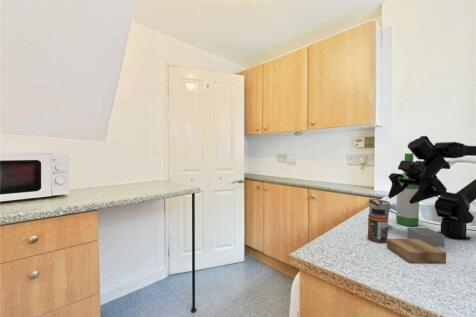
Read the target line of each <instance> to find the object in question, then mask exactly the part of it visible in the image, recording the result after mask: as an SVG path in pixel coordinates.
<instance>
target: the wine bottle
mask: <svg viewBox="0 0 476 317" xmlns="http://www.w3.org/2000/svg"><path fill="white" fill-rule="evenodd" d="M404 161H412V162H414V154H413V153H412V152H410V153H407V152H406V153H405V152H404ZM405 173H406V172H404V171H402V173H401V174H402V175H403V176H404V177H405V178H408V176H406V175H405ZM404 189H405V190H404V191H402V192H401V193H399V194H397V195H396V205H395V206H396V207H395V208H396V209H395V210H396V212H395V215H396V216H395V222H396V223H398V224H399V225H402V226H407V227H416V226H418V225H419V219H420V201H419V202H416V203H414V204H410V203H409V201H410V199H411V198H412V197H413V195H414V194H415V193H416V192H417V191H418V189H419V187H418V186H415V185H409V186H408V187H407V188H404Z"/></svg>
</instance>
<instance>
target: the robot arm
mask: <svg viewBox="0 0 476 317" xmlns="http://www.w3.org/2000/svg"><path fill="white" fill-rule="evenodd" d="M407 149H408V150H409V151H410V153H413V156H414V157H415V158H416V159H417V160H416V161H413V162H412V161H405V160H401V161H400V163H399V164H398V166H397V169H398V170H399V171H400V170H401V171H402V172H406V173H405V175H406V176H408V178H405V177H404V176H403V175H402V173H395V172H394V173H393V172H392V173H390V174H389V175H388V179H389V180H390V182H391V187H390V190H389V192H388V195H387V197H388V198H389V199H393V198H395V197H397V194H399V193H401V192H402V191H404V190H405V189H404V188H407V187H408V186H409V185H415V186H418V187H419V189H418V191H417V192H416V193H415V194H414V195H413V197H412V198H411V199H410V201H409V203H410V204H414V203H416V202H419V203H420V202H422V201H425V200H428V199H433V198H437V199H436V200H435V202H434V209H435V211H436V212H435V213H436V215H437V217H439V218H441V222H440V231H437V232H438V233H440V234H443V235H445V237H448V238H449V239H452V240H453V239H454V240H471V237H470V236H467V224H470V223H473V222H474V218H475V216H474V215H473V214H472V213H471V211H470V208H471V204H472V202H474V201H475V200H476V178H475V179H474V180H473V181H470V183H468V184H466V185H465V186H464V187H462V188H461V189H460V190H459V191H457V192H449V191H448V190H447V187H446V186H445V184H443V182H442V181H441V179H439V177H438V176H437V175H438V173H439V172H440V171H441V170H451V166H450V162H449V161H448V160H446V159H458V158H464V157H467V156H469V157H472V156H473V157H474V156H475V157H476V145H467V144H464V143H461V142H458V141H445V142H443V141H441V142H439V141H438V142H436V143H435V144H434V143H432V141H431V140H430V139H429V137H428V136H427V135H420V137H419V138H416V139H414V140H412V141H410V142H409V143H408V144H407Z"/></svg>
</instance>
